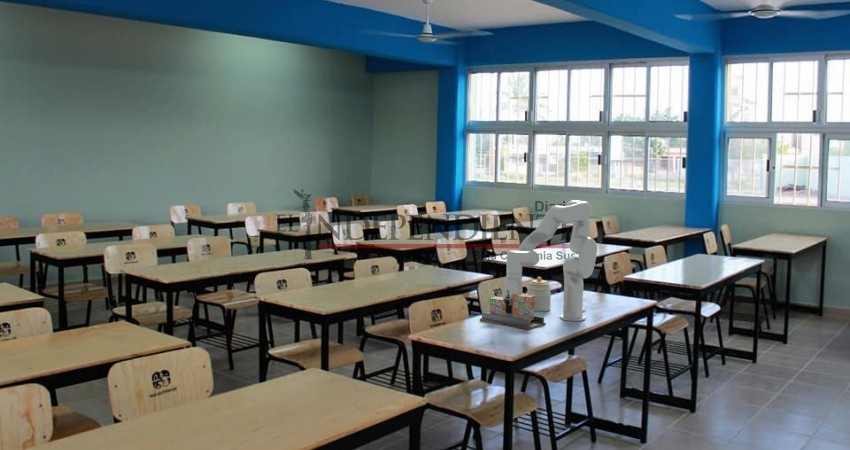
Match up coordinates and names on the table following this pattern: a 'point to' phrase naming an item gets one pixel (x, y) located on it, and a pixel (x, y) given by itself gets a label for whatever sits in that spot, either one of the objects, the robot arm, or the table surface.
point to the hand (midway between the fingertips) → (513, 311)
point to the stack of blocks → (515, 306)
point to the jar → (540, 294)
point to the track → (513, 321)
